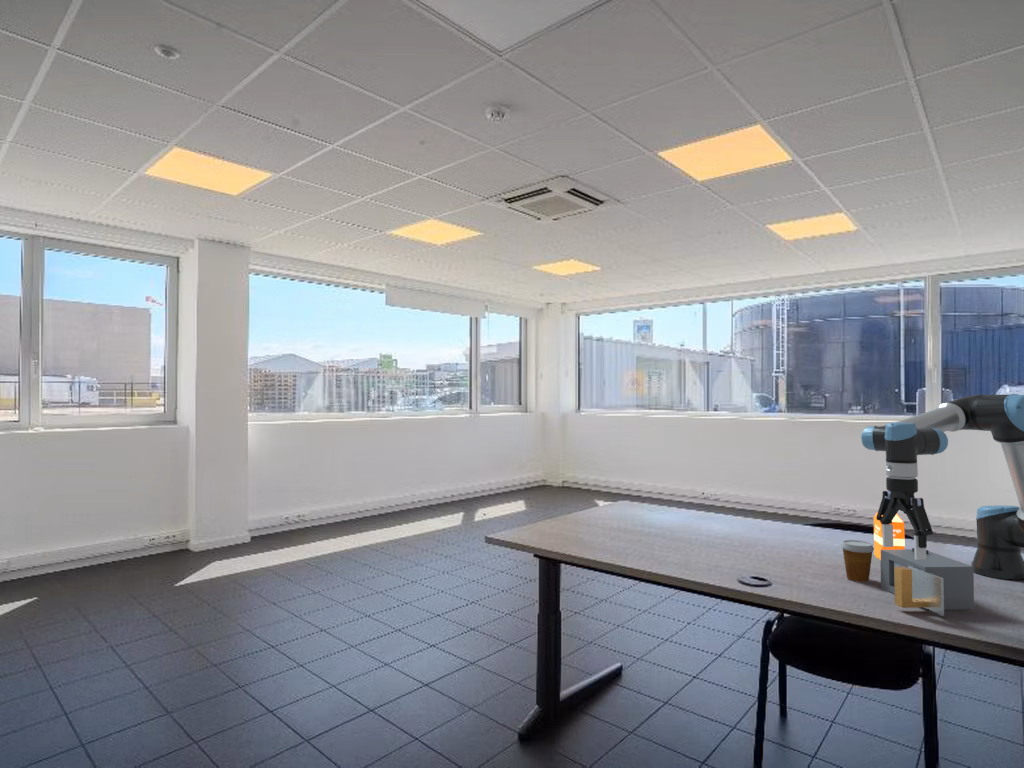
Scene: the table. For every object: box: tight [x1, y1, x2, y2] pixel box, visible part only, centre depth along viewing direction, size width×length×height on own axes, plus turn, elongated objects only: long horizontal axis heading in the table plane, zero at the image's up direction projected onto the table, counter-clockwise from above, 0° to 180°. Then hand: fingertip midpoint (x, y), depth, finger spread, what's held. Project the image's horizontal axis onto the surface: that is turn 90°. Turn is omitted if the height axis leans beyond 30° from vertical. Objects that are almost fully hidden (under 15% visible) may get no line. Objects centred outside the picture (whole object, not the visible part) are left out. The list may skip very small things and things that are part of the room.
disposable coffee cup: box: [840, 539, 874, 583], centre depth 201 cm, size 10×10×12 cm
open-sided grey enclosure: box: [880, 547, 975, 611], centre depth 182 cm, size 14×20×13 cm
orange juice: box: [872, 511, 906, 561], centre depth 227 cm, size 8×9×20 cm
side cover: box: [894, 565, 945, 617], centre depth 171 cm, size 8×13×11 cm, turn 2°
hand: (903, 552), depth 171 cm, fingers open, 13 cm apart
